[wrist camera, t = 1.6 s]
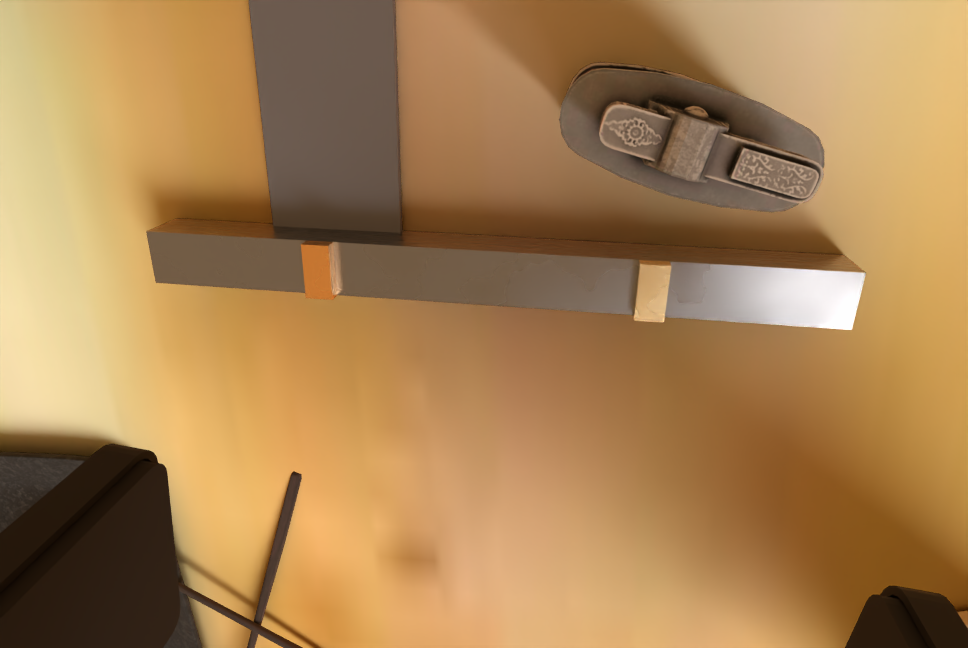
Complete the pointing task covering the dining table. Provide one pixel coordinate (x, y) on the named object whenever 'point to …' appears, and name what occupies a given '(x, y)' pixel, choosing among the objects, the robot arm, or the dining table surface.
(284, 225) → the marked pad
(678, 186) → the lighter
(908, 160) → the dining table surface
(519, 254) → the rail
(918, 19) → the dining table surface
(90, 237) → the dining table surface
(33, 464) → the sushi plate
